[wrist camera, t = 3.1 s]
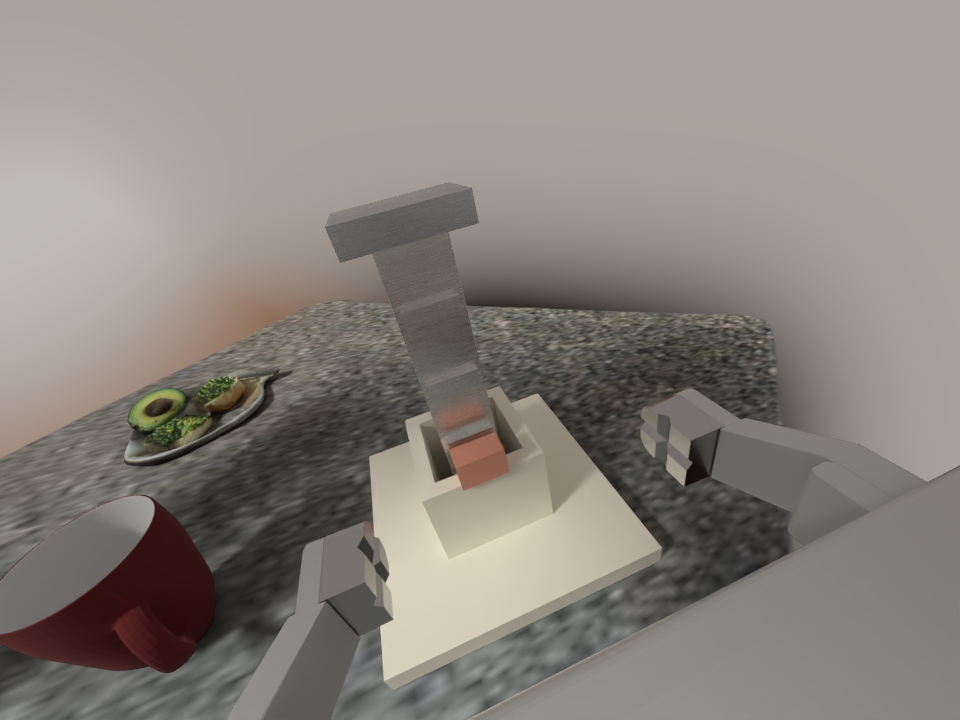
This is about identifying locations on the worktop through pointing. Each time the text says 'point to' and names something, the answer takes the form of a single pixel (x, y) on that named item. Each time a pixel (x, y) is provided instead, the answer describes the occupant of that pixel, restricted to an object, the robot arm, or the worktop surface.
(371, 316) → the worktop surface
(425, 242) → the column
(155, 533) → the mug
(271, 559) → the worktop surface
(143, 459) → the salad plate
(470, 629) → the stand
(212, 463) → the worktop surface
